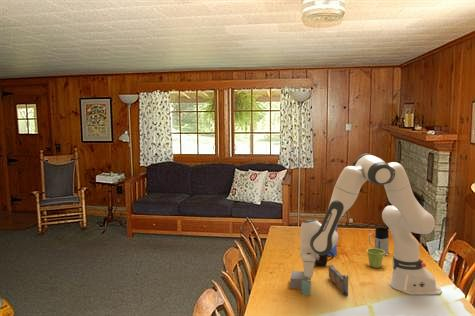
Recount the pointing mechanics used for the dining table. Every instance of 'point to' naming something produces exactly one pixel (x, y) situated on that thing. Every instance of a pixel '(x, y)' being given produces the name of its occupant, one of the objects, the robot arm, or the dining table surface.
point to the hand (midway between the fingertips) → (309, 279)
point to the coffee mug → (322, 260)
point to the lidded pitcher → (381, 239)
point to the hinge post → (345, 285)
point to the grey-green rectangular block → (306, 287)
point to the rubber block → (297, 279)
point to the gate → (336, 276)
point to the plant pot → (375, 257)
